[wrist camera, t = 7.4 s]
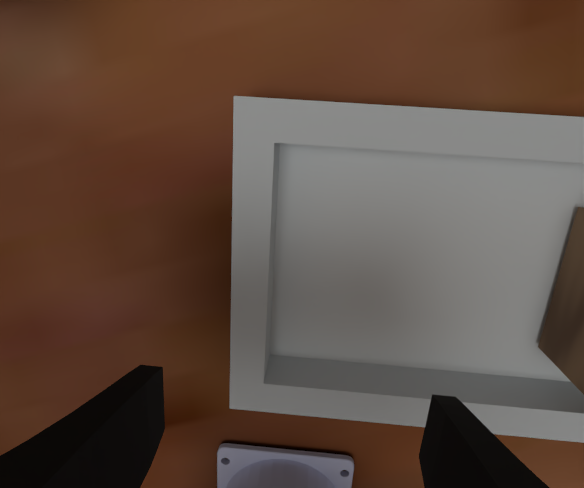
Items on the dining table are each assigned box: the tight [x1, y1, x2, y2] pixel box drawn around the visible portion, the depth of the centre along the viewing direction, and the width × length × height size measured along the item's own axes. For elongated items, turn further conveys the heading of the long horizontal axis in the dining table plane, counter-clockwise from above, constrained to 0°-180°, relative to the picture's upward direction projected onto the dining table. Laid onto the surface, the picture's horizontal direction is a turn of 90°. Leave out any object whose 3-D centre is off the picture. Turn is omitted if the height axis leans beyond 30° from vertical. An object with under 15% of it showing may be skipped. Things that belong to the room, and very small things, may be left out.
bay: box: [230, 96, 584, 443], centre depth 18 cm, size 14×25×3 cm, turn 87°
